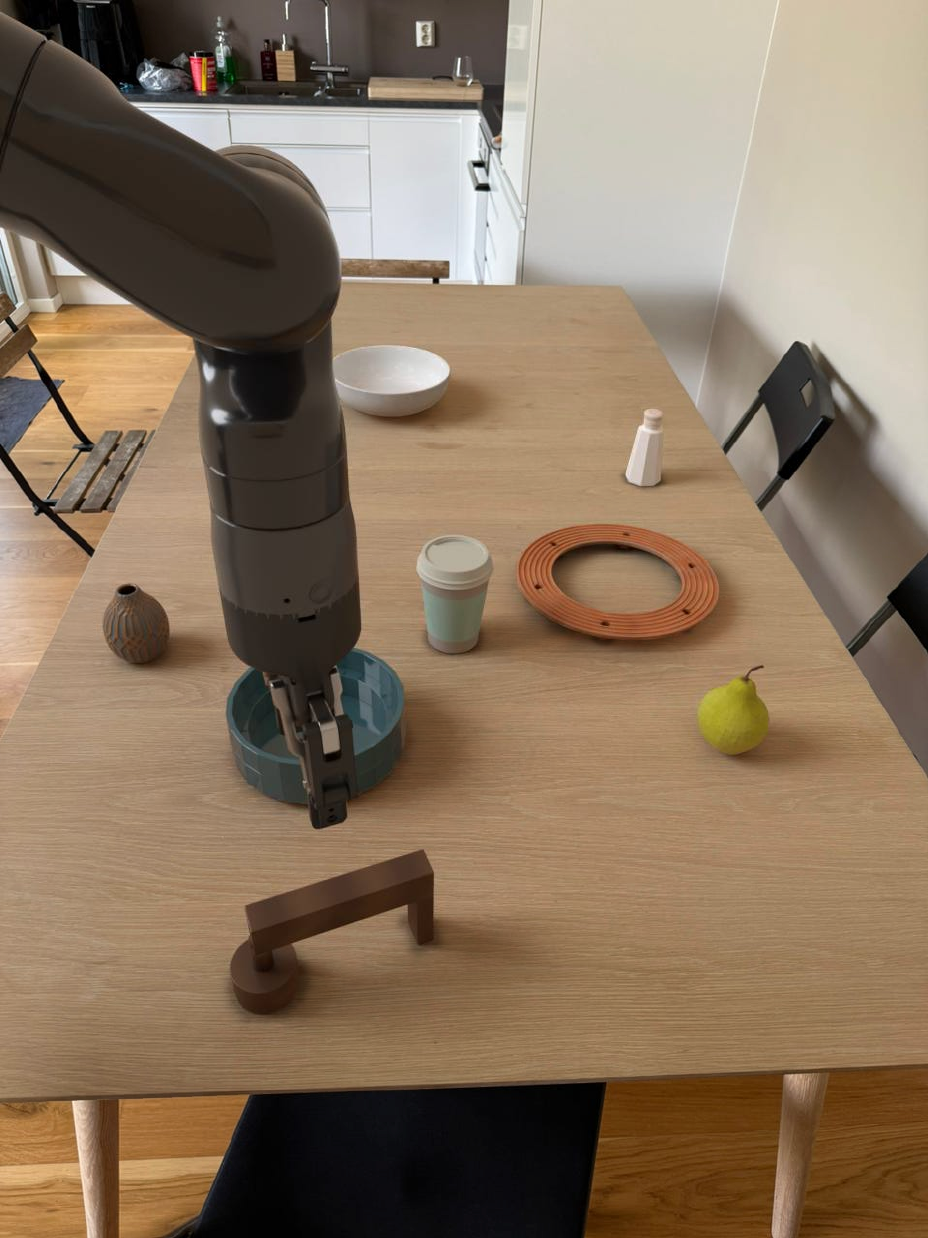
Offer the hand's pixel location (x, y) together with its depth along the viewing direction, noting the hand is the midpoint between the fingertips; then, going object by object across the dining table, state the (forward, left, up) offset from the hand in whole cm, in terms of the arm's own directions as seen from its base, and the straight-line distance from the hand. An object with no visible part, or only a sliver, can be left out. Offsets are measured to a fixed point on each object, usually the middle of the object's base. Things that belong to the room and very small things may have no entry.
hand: (311, 773), depth 58 cm
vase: (-9, +45, -22) cm, 51 cm away
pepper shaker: (+67, +61, -22) cm, 93 cm away
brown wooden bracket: (0, 0, -22) cm, 22 cm away
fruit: (+45, +9, -22) cm, 51 cm away
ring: (+48, +37, -22) cm, 64 cm away
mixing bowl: (+6, +24, -22) cm, 33 cm away
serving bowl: (+39, +99, -22) cm, 109 cm away
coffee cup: (+25, +35, -22) cm, 48 cm away
